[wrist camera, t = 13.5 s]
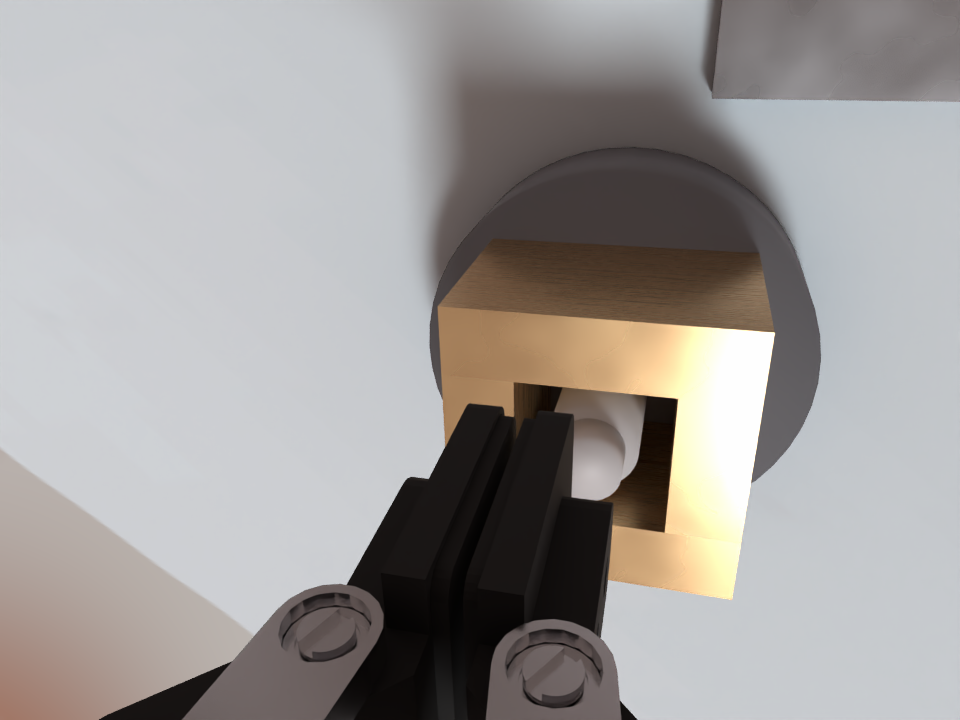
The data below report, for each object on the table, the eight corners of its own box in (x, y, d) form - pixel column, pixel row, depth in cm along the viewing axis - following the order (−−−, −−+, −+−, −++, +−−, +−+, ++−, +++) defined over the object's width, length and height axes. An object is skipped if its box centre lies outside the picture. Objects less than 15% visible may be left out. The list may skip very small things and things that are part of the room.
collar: (759, 253, 19) (775, 332, 15) (726, 479, 22) (732, 600, 18) (493, 238, 21) (437, 306, 17) (496, 451, 24) (451, 554, 20)
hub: (840, 153, 21) (913, 251, 13) (777, 486, 25) (806, 692, 18) (451, 142, 23) (333, 219, 16) (462, 445, 28) (377, 611, 21)
